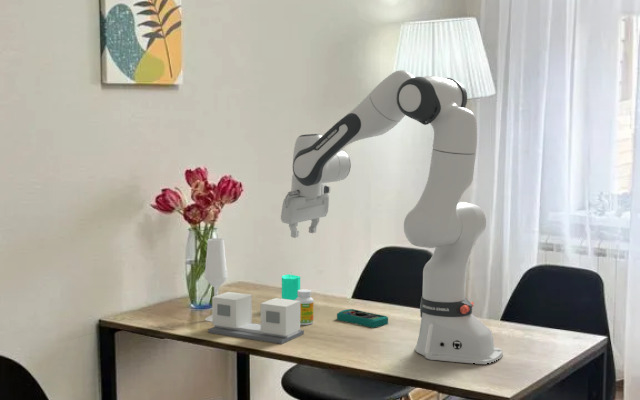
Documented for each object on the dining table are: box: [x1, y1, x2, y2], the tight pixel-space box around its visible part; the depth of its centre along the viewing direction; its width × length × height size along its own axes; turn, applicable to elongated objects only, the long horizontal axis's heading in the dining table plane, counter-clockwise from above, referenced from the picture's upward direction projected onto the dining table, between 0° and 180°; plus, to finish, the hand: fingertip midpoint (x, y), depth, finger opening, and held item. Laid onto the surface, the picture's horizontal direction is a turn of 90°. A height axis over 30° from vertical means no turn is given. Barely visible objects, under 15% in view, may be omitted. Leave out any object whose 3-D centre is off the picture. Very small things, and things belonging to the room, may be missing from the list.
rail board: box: [207, 291, 305, 345], centre depth 252 cm, size 24×12×10 cm, turn 62°
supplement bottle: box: [295, 288, 315, 326], centre depth 264 cm, size 5×5×10 cm
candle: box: [281, 273, 301, 300], centre depth 281 cm, size 6×6×12 cm
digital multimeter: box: [336, 308, 389, 329], centre depth 267 cm, size 7×15×3 cm, turn 48°
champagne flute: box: [204, 237, 228, 323], centre depth 267 cm, size 7×7×24 cm
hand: (303, 234), depth 266 cm, fingers open, 8 cm apart
